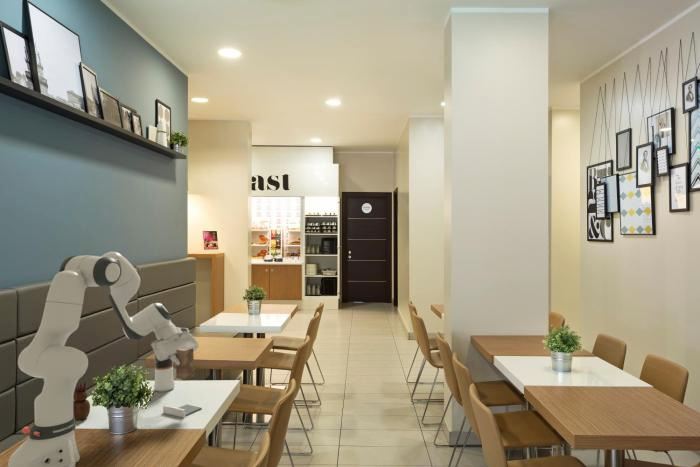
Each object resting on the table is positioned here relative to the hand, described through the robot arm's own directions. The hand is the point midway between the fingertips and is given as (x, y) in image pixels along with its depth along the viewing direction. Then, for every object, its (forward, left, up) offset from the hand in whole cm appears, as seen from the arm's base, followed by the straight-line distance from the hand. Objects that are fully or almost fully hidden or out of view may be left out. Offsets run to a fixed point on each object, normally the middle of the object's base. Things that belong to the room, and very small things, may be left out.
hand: (186, 362), depth 213 cm
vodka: (+16, +33, -21) cm, 42 cm away
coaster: (0, +1, -21) cm, 21 cm away
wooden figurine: (-26, +33, -21) cm, 47 cm away
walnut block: (0, +1, -6) cm, 6 cm away
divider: (-6, +2, -21) cm, 21 cm away
